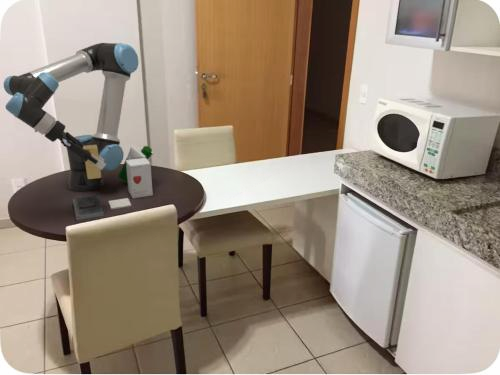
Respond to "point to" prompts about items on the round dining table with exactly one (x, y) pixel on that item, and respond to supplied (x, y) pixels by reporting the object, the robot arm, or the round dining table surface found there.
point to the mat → (119, 203)
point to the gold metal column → (91, 168)
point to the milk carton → (135, 157)
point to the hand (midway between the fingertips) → (102, 164)
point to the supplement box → (139, 177)
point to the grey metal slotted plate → (87, 212)
